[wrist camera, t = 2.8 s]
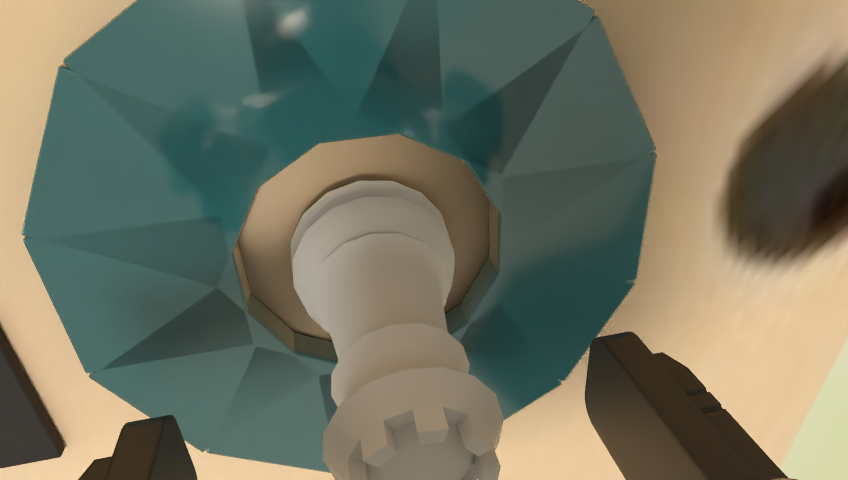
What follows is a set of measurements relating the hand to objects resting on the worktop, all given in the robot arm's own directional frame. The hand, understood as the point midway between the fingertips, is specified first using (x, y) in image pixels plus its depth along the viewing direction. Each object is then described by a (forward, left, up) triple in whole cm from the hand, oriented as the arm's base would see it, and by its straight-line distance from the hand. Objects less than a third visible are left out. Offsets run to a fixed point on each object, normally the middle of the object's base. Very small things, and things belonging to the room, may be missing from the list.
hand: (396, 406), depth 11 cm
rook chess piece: (0, 0, -6) cm, 6 cm away
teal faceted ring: (0, 0, -6) cm, 6 cm away
